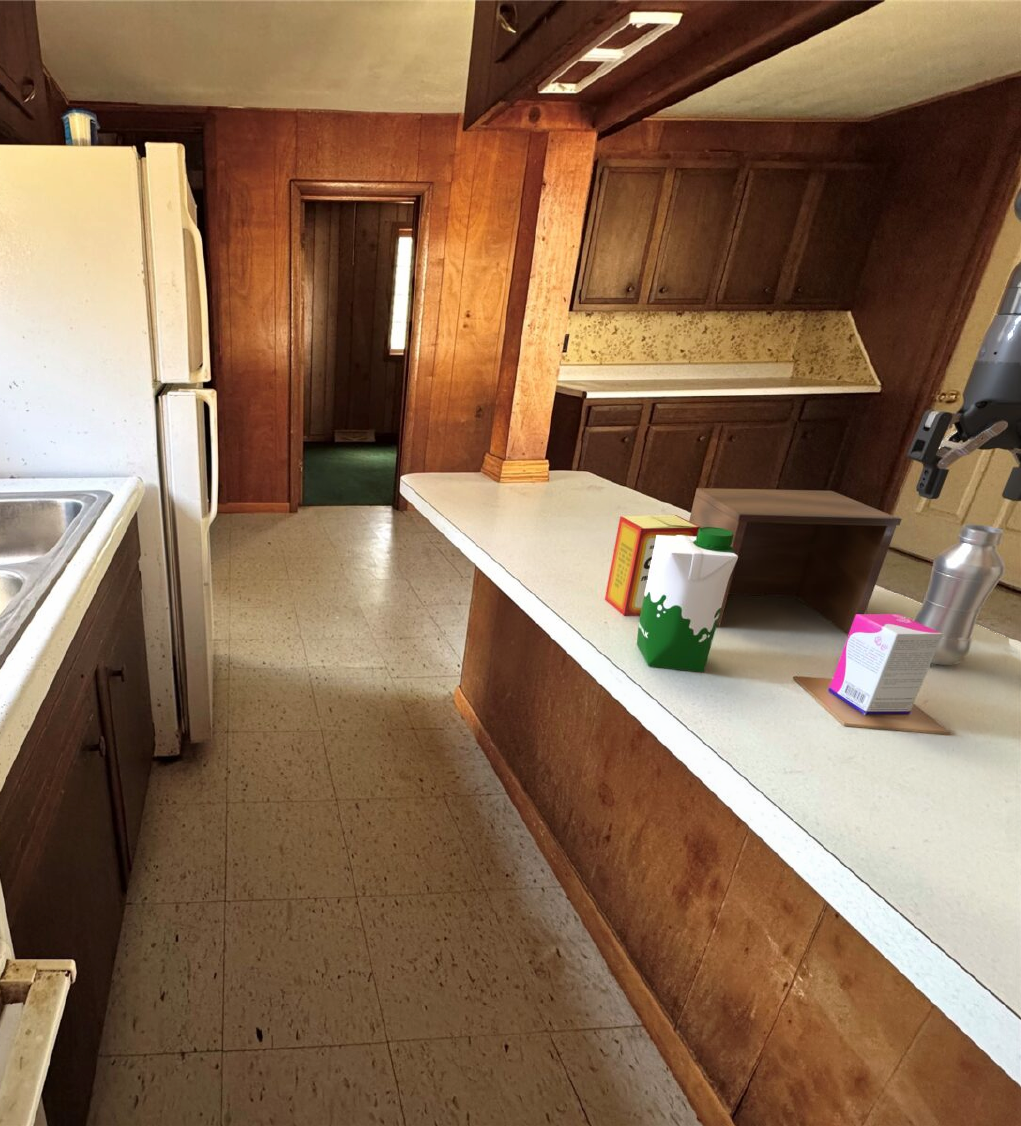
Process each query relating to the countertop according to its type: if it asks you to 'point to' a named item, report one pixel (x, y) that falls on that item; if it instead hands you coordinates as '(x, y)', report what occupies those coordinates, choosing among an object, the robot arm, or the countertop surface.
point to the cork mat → (854, 718)
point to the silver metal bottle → (961, 589)
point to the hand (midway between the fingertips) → (969, 498)
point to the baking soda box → (638, 557)
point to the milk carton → (684, 598)
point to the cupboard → (801, 546)
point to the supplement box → (884, 663)
